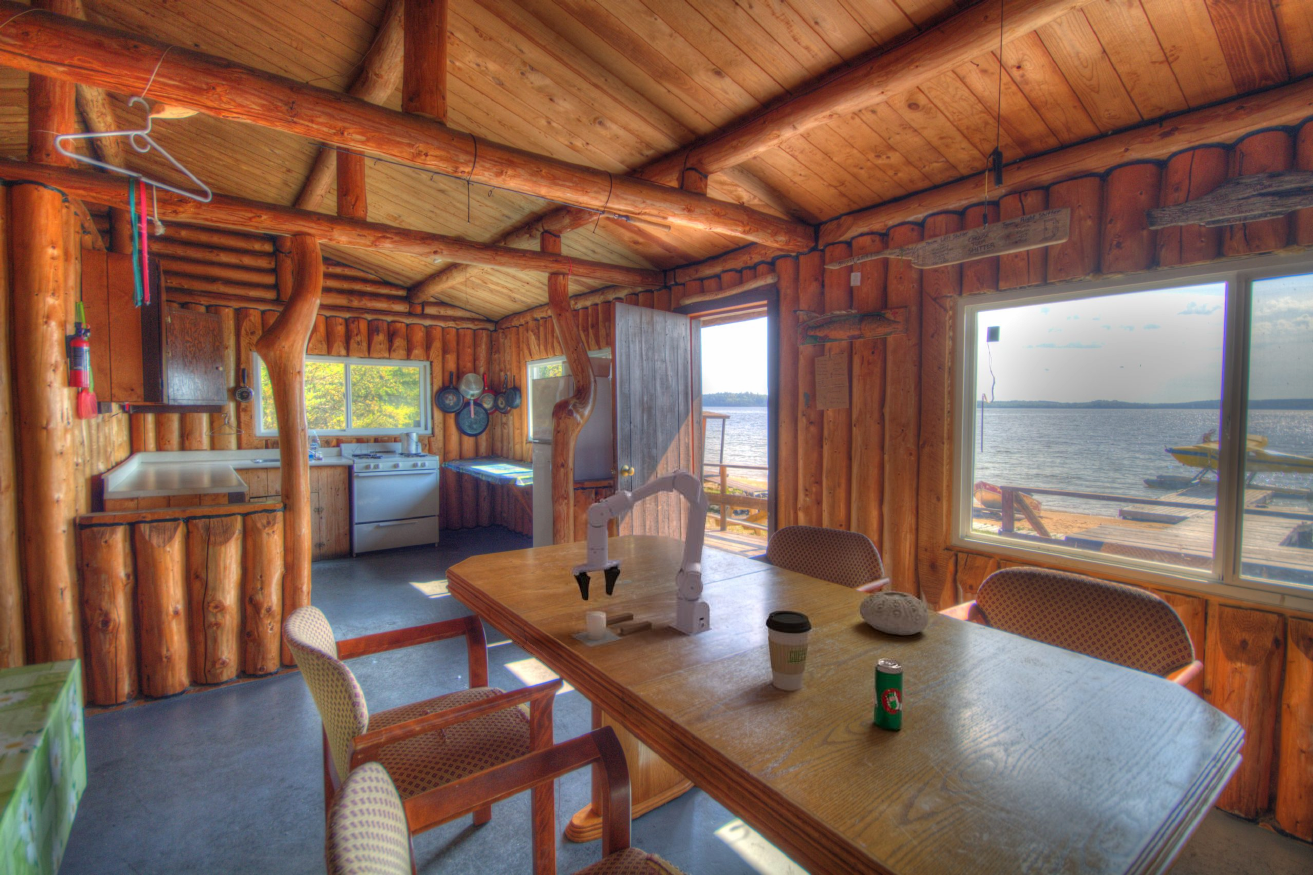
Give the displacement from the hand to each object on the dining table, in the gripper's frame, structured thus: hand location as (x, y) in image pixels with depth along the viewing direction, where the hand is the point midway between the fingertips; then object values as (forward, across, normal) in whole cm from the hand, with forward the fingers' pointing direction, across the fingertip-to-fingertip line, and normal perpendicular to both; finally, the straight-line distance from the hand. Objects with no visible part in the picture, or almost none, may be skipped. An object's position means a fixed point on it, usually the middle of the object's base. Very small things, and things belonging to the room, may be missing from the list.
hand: (597, 597), depth 162 cm
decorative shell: (+10, -68, +47) cm, 83 cm away
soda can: (+10, -18, +76) cm, 79 cm away
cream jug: (+9, +3, +3) cm, 10 cm away
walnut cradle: (+9, -8, +3) cm, 13 cm away
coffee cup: (+10, -16, +53) cm, 56 cm away
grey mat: (+9, +3, +4) cm, 11 cm away
